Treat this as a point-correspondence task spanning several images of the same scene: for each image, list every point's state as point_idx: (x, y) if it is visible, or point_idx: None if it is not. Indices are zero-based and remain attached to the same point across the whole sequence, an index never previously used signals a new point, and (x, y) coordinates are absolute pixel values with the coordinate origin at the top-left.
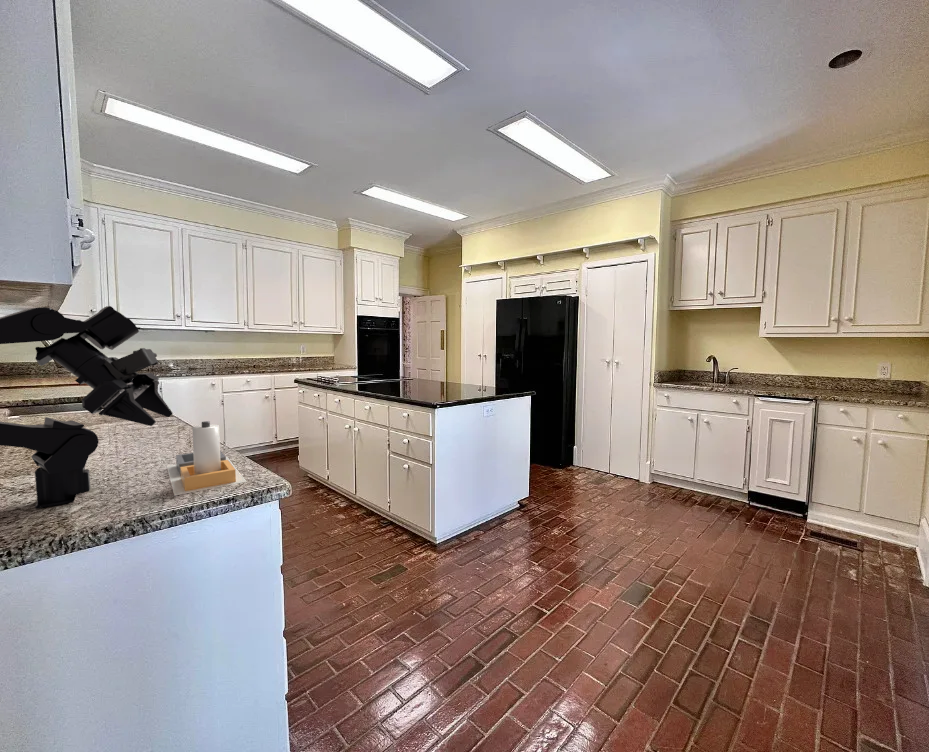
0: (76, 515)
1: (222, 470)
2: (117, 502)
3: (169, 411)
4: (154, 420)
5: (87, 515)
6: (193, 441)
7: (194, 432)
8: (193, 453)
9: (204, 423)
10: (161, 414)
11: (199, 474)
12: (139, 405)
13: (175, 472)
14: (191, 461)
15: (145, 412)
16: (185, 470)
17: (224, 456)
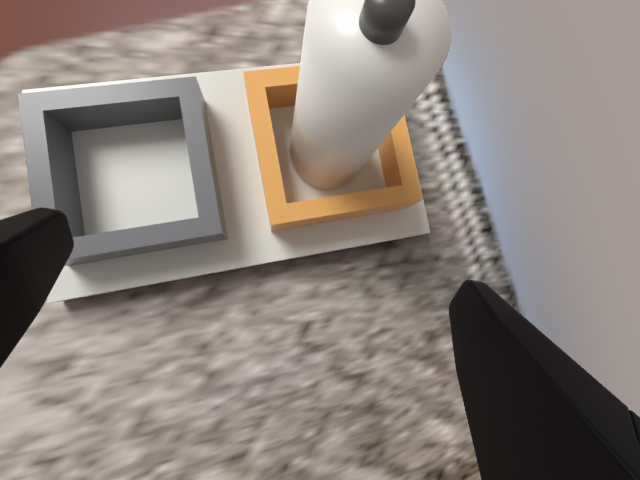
0: (423, 455)
1: None
2: (360, 381)
3: (43, 228)
4: (481, 286)
5: (435, 427)
6: (386, 126)
7: (417, 94)
8: (360, 153)
9: (412, 10)
10: (41, 302)
11: (398, 158)
12: (625, 448)
13: (173, 257)
14: (201, 193)
15: (564, 357)
16: (327, 203)
17: (181, 79)
